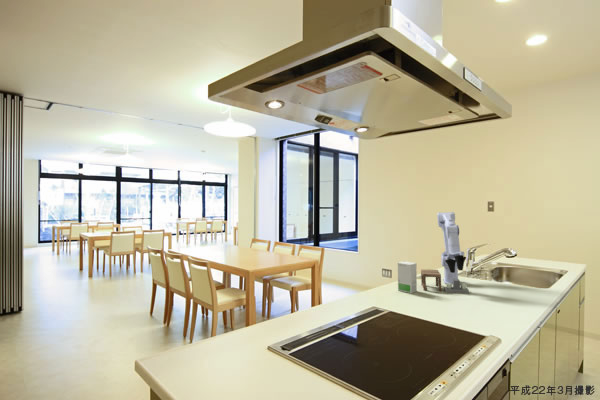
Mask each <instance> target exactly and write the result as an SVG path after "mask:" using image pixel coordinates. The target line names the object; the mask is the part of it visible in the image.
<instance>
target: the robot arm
mask: <svg viewBox="0 0 600 400" xmlns="http://www.w3.org/2000/svg"><path fill="white" fill-rule="evenodd" d="M436 216H437V225H438V227H439V228H441V231H442V233H443V234H442V235H443V244H444V251H443V252H442V253H441V255H440V257H441V258H440V260H441V261H440V262H441V266H442V267H444V268H443V272H444V274H443V276H444V277H443V279H442V281H443V282H444V284H445V285H447V283H452V285H453V279H459V274H458V273H459V272H458V271H463V270H464V265H465V261H466V259H467V257H466V256H465V251H462V250H461V245H460V237H459V235H460V227H459V225H458V224H456V214H455V212H454V211H452V212H439V211H438V212H437V214H436Z"/></svg>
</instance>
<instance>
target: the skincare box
mask: <svg viewBox="0 0 600 400" xmlns="http://www.w3.org/2000/svg"><path fill="white" fill-rule="evenodd" d="M417 273H418V272H417V262H412V261H402V260H401V261H399V262H397V290H398V291H399V292H405V293H408V294H413V293H415V292H417V289H418V287H417V285H418V284H417V282H418V281H417V278H418V277H417Z"/></svg>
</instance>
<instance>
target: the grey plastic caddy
mask: <svg viewBox="0 0 600 400" xmlns="http://www.w3.org/2000/svg"><path fill="white" fill-rule="evenodd" d="M444 291H445V293H450V294H470V290H469V288H468V287H467V283H461V281H460V279H459V278H458V279H453V284H452V283H447V284H446V286H444Z"/></svg>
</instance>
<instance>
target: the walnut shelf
mask: <svg viewBox="0 0 600 400" xmlns="http://www.w3.org/2000/svg"><path fill="white" fill-rule="evenodd" d="M420 278H421V281H420V282H421V286H422V288H423V291H427V283H426V282H427V280H426V278H435V286H436V287H438V291H439V292H442V275H441V272H440V271H439V270H438V269H420Z"/></svg>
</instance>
